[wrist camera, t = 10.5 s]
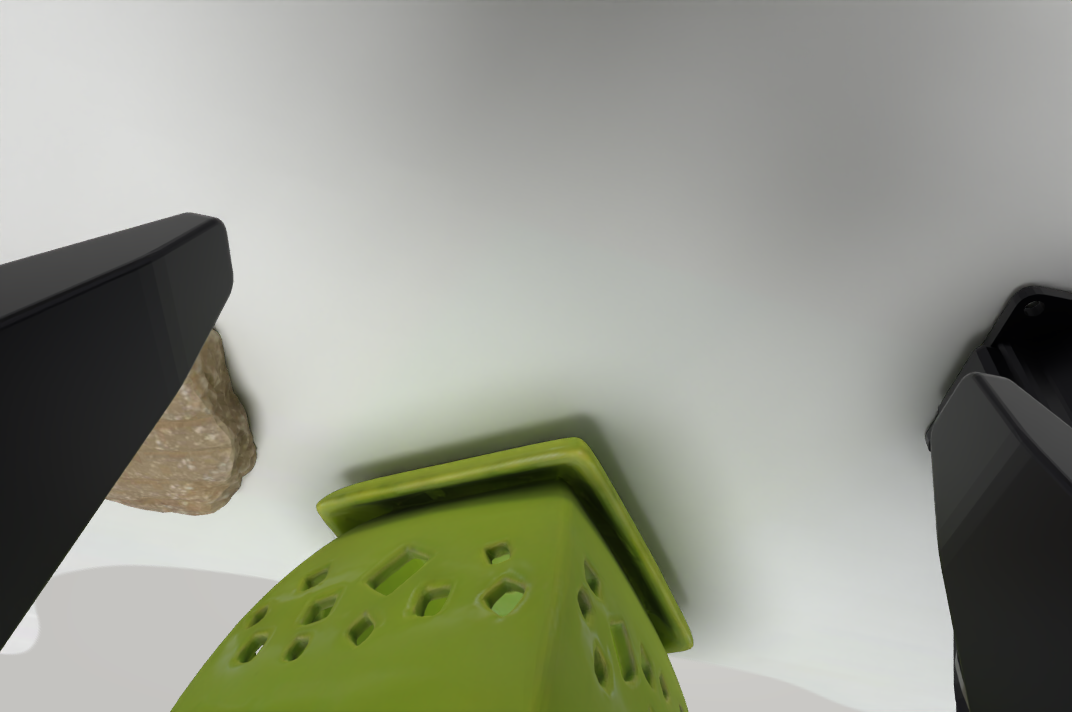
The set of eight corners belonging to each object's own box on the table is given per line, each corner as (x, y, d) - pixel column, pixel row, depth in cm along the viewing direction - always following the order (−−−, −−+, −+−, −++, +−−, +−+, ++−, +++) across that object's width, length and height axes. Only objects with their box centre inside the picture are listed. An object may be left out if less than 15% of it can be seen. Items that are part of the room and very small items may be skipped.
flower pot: (605, 374, 26) (545, 739, 17) (729, 611, 33) (739, 970, 23) (298, 455, 32) (115, 764, 22) (459, 644, 39) (374, 945, 29)
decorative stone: (-123, 292, 31) (-203, 342, 28) (226, 309, 28) (175, 367, 25) (-3, 464, 37) (-60, 519, 34) (295, 492, 34) (259, 555, 31)
